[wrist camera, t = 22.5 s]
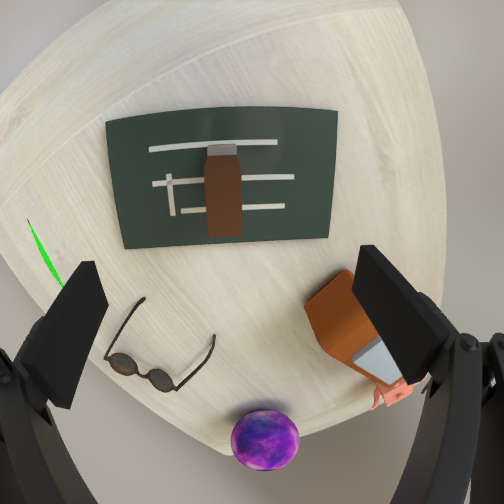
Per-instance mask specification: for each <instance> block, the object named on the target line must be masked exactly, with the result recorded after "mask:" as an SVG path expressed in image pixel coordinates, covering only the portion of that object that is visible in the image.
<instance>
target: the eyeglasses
mask: <svg viewBox="0 0 504 504" xmlns="http://www.w3.org/2000/svg"><path fill="white" fill-rule="evenodd" d="M145 300H146V298H145V297H143V298H142V299H141V300H140V301H139V302H138V303H137V304H136V305H135V306H134V308H133V309H132V311H131V312H130V314H129V315H128V317H127V318H126V320H125V321H124V323H123V324H122V326H121V328H120V329H119V331H118V333H117V335H116V336H115V338H114V340H113V341H112V343H111V345H110V347H109V348H108V350H107V352H106V354H105V356H104V360H106V361H109V363H110V365H111V367H112V368H113V369H114V370H115V371H116V372H117V373H119V374H121V375H125V376H130V375H133V374H137V375H138V376H140V377H142V378H146V379H149V380H150V382H151V383H152V385H153V386H154V387H155V388H156V389H158V390H159V391H161V392H165V393H167V392H170V391H171V390H174V391H176V392H177V391H178V390H179V389H180V388H181V387H182V386H183V385H184V384H185V383H186V382H187V381H188V380H189V379H190V378H191V377H192V376H193V375H194V374H195V373H197V372H198V371H199V370H200V369H201V368H202V367H203V365H204V364H205V363H206V362H207V361H208V359H209V358H210V356H211V354H212V352H213V349H214V346H215V339H216V335H213V343H212V347H211V349H210V351H209V353H208V355H207V357H206V358H205V360H204V361H203V362H202V363H201V364H200V365H199V366H198V367H197V368H196V369H195V370H194V371H193V372H192V373H191V374H190V375H189V376H188V377H186V378H185V379H184V380H183V381H182V382H181V383H180V384H179V385H178V386H177V387H176V386H174V384H173V381H172V379H171V378H170V376H169V375H168V374H167V373H165V372H164V371H162V370H160V369H152V370H150V371H149V372H148V373H147V374H146V375H142V374H140V373H139V371H138V366H137V364H136V362H135V361H134V360H133V359H132V358H131V357H130V356H128V355H126V354H123V353H114V354H112V355H111V356H110V357H108V356H107V355H108V354H109V352H110V350H111V348H112V347H113V345H114V343H115V341H116V340H117V338H118V336H119V335H120V333H121V331H122V329H123V328H124V326H125V325H126V323H127V322H128V320H129V319H130V317H131V316H132V314H133V313H134V311H135V310H136V309H137V307H138V306H139V305H140V304H141V303H143V302H144V301H145Z"/></svg>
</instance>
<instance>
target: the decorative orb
mask: <svg viewBox="0 0 504 504" xmlns="http://www.w3.org/2000/svg"><path fill="white" fill-rule="evenodd" d="M298 447H299V433H298V430H297V428H296V426H295V424H294V423H293V422H292V421H291V420H290V419H289V418H288V417H287V416H285V415H284V414H282V413H279V412H276V411H272V410H259V411H255V412H252V413H249V414H247V415H246V416H244V417H243V418H242V419H240V420H239V421H238V423H237V424H236V425H235V427H234V429H233V431H232V434H231V448H232V451H233V453H234V455H235V457H236V458H237V459H238V460H239V461H240V462H241V463H242V464H243V465H245V466H247V467H249V468H251V469H254V470H258V471H271V470H275V469H278V468H281V467H282V466H284V465H286V464H287V463H289V462H290V461H291V460H292V458H293V457H294V456H295V454H296V452H297V450H298Z"/></svg>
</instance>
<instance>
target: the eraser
mask: <svg viewBox="0 0 504 504" xmlns="http://www.w3.org/2000/svg"><path fill="white" fill-rule="evenodd" d="M204 187H205V202H206V216H207V230H208V238H211V237H229V236H243V220H242V168H241V165H240V162H239V160H238V157H237V146H236V144H216V145H208V146H207V160H206V163H205V166H204Z"/></svg>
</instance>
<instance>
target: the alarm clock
mask: <svg viewBox="0 0 504 504" xmlns="http://www.w3.org/2000/svg"><path fill="white" fill-rule="evenodd" d="M353 281H354V275H353V274H352V273H351V272H350V271H349V270H347V269H344V270H343V271H342V272H341V273H340V274H339V275H338V276H336V277H335V278H334V279H333V280H332V281H331V282H330V283H329V284H327V285H326V286H325V287H324V288H323V289H322V290H321V291H319V292H318V293H317V294H316V295H315V296H314V297H313V298H311V299H310V300H309V301H308V302H307V303H306V304H305V306H304V307H305V311H306V313H307V316H308V318H309V321H310V323H311V326H312V329H313V331H314V334H315V336H316V339H317V341H318V343H319V345H320V346H321V348H322V349H323V350H324V351H325V352H326V353H328V354H329V355H330V356H332V357H334V358H336V359H337V360H339V361H341V362H342V363H344V364H346V365H347V366H349V367H351V368H353V369H354V370H356V371H358V372H359V373H361V374H363V375H365V376H366V377H368V378H370V379H372V380H373V381H375V382H377V383H379V384H381V385H382V386H384V387H386V388H388V389H389V388H392V387H393V386H394V385H396V384H397V383H398V382H400V381H401V380H403V379H404V378H403V376H402V374H401V372H400V370H399V369H398V367H397V365H396V363H395V362H394V360H393V358H392V356H391V355H390V353H389V351H388V349H387V348H386V346H385V344H384V343H383V341H382V339H381V338H380V336H379V334H378V333H377V331H376V329H375V328H374V326H373V324H372V323H371V321H370V319H369V318H368V316H367V314H366V313H365V311H364V310H363V308H362V306H361V305H360V303H359V302H358V300H357V299H356V297H355V295H354V294H353V292H352V291H351V289H352V285H353Z"/></svg>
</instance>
